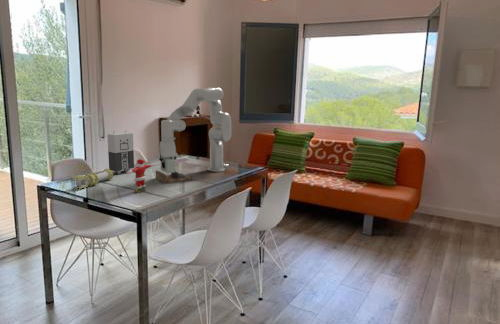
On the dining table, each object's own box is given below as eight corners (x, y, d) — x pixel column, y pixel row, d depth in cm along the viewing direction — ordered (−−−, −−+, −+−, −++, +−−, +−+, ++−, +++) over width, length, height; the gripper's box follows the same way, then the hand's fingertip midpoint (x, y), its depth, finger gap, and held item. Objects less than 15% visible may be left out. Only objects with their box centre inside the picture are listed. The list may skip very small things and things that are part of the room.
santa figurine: (149, 185, 225) (148, 155, 222) (157, 186, 223) (157, 156, 220) (122, 196, 202) (120, 162, 199) (131, 197, 200) (129, 163, 197)
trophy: (103, 167, 238) (68, 176, 210) (114, 168, 236) (79, 177, 208) (104, 179, 240) (69, 190, 212) (114, 180, 238) (80, 192, 209)
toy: (116, 175, 250) (114, 130, 244) (109, 173, 254) (107, 129, 248) (134, 171, 262) (132, 129, 256) (127, 170, 266) (125, 128, 260)
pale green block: (168, 168, 246) (168, 156, 245) (175, 172, 236) (175, 159, 235) (160, 169, 243) (160, 157, 242) (167, 173, 234) (167, 160, 232)
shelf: (181, 175, 254) (181, 168, 253) (191, 180, 241) (191, 172, 240) (155, 178, 245) (155, 170, 244) (164, 183, 231) (164, 175, 231)
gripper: (177, 138, 244) (178, 165, 247) (152, 139, 235) (152, 167, 238) (182, 139, 238) (182, 167, 241) (156, 141, 228) (156, 170, 232)
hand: (167, 167), depth 239 cm, fingers closed on pale green block, 5 cm apart
